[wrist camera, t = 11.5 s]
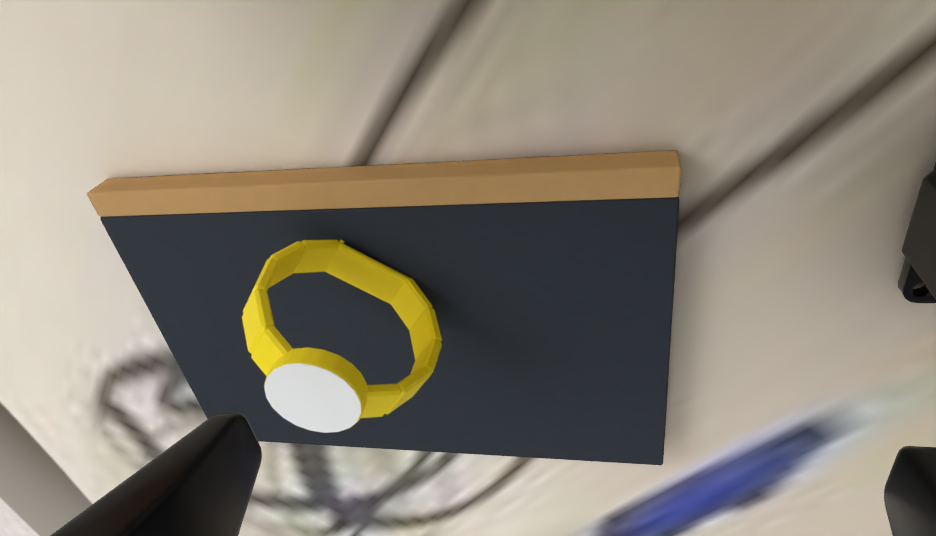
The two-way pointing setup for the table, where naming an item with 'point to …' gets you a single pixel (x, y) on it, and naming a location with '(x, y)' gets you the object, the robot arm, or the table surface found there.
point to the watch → (322, 372)
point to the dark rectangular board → (430, 294)
